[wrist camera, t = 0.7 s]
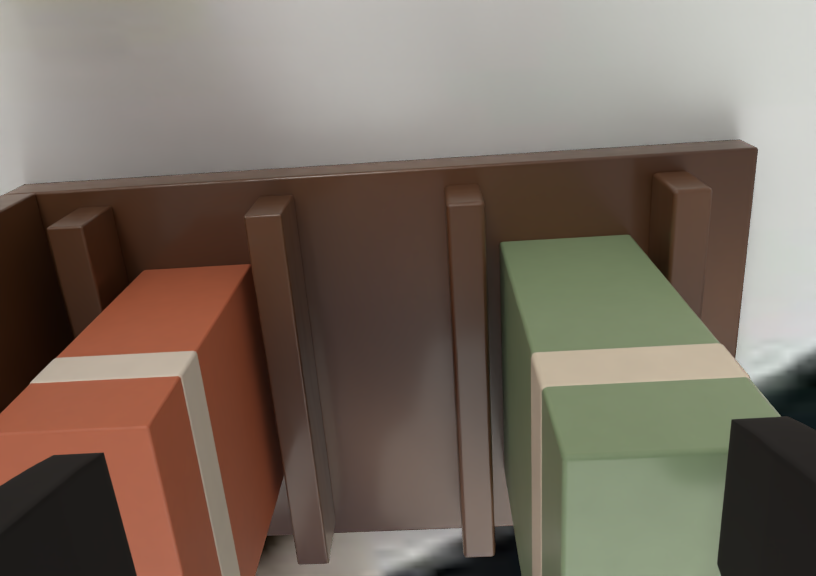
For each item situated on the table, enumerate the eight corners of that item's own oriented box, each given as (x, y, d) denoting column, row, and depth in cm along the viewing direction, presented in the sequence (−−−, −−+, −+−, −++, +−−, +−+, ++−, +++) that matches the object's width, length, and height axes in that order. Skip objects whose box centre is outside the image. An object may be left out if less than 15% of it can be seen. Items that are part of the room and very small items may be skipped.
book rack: (705, 495, 21) (861, 776, 13) (112, 519, 22) (-52, 797, 14) (741, 138, 17) (984, 254, 10) (23, 183, 18) (-264, 322, 10)
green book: (620, 467, 19) (754, 797, 11) (503, 472, 19) (556, 801, 12) (631, 232, 17) (810, 445, 9) (498, 239, 17) (561, 456, 9)
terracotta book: (285, 475, 20) (216, 716, 13) (188, 480, 20) (71, 720, 13) (252, 262, 17) (149, 425, 11) (142, 268, 18) (-25, 433, 11)
